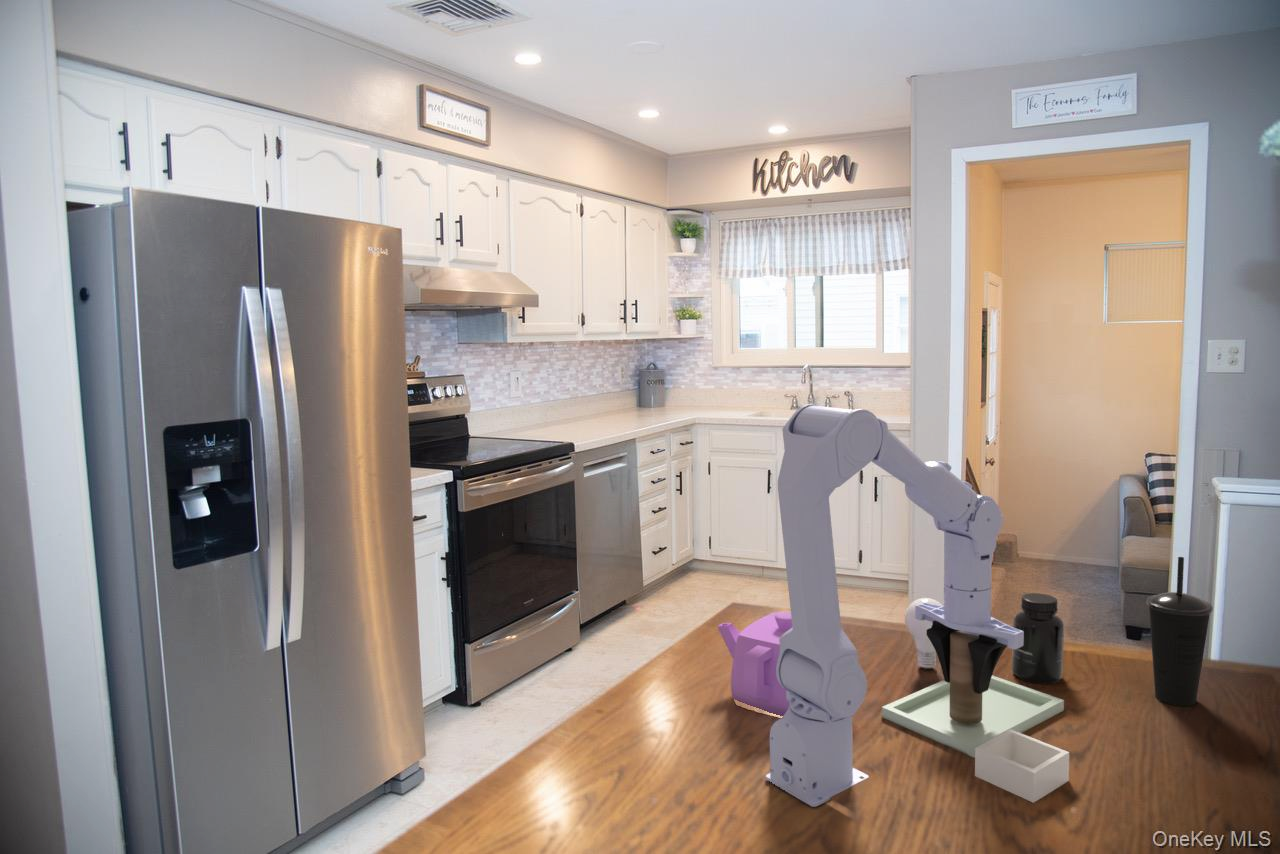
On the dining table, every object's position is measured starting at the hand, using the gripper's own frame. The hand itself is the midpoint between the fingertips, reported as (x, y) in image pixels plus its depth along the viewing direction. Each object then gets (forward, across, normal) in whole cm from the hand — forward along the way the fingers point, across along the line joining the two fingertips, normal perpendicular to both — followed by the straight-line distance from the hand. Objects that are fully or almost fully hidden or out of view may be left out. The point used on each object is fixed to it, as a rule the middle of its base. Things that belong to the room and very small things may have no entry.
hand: (966, 685), depth 113 cm
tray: (+6, +1, -3) cm, 7 cm away
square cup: (+6, -12, +7) cm, 15 cm away
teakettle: (+6, +22, +11) cm, 25 cm away
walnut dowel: (+4, 0, 0) cm, 4 cm away
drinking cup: (+6, -13, -29) cm, 32 cm away
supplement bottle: (+6, +3, -22) cm, 23 cm away
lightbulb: (+6, +15, -12) cm, 20 cm away
